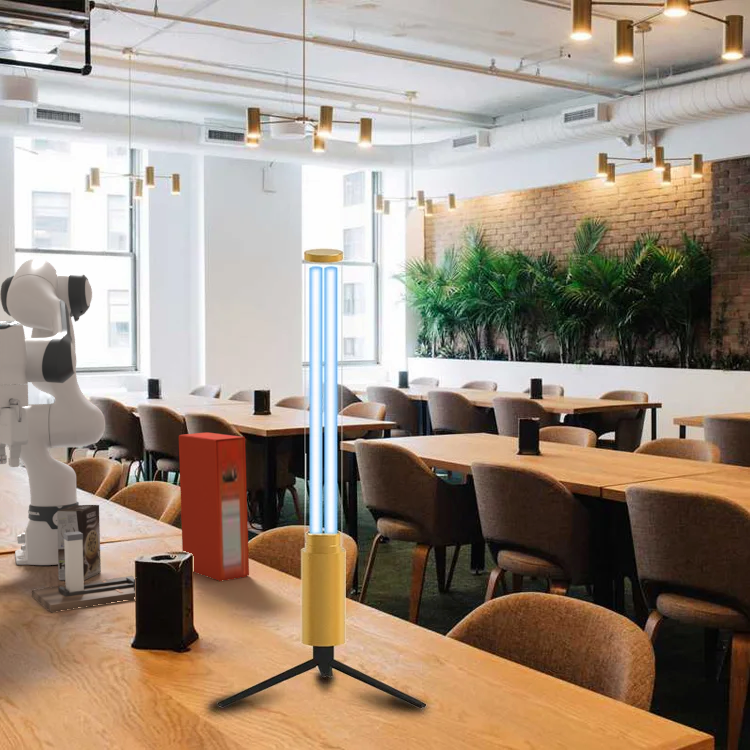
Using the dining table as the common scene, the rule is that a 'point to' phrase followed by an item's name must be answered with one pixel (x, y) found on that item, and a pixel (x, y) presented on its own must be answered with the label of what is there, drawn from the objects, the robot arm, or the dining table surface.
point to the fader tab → (74, 561)
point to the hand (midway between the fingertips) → (7, 465)
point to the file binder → (214, 504)
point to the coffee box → (88, 524)
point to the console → (86, 594)
